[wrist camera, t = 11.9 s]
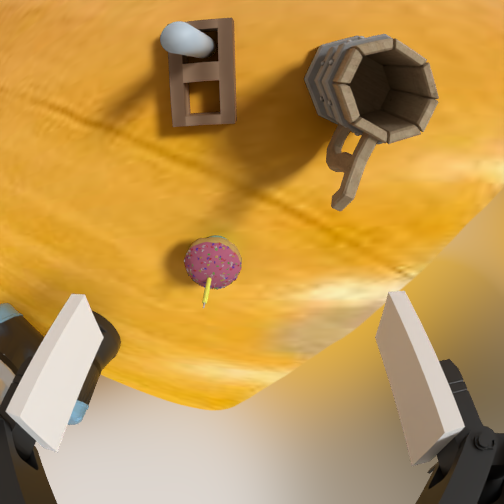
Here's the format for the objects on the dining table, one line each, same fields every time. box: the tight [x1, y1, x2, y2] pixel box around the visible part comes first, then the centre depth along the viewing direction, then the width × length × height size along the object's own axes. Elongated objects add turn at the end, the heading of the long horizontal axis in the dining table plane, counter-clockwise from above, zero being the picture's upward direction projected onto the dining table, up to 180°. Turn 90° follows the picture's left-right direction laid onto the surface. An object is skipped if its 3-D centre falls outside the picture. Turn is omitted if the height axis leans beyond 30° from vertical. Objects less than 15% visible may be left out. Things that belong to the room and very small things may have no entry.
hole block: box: [167, 18, 237, 127], centre depth 35 cm, size 8×14×3 cm, turn 1°
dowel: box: [160, 22, 216, 59], centre depth 29 cm, size 3×3×14 cm
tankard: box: [304, 34, 439, 211], centre depth 32 cm, size 20×13×15 cm, turn 158°
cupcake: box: [184, 236, 242, 308], centre depth 46 cm, size 9×8×12 cm
